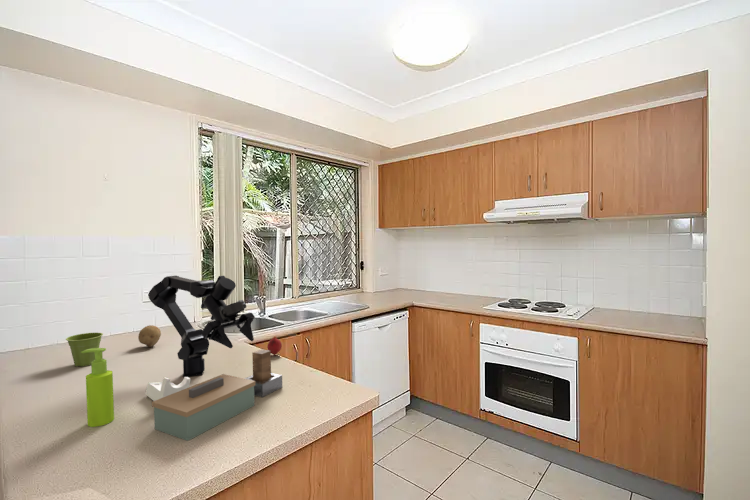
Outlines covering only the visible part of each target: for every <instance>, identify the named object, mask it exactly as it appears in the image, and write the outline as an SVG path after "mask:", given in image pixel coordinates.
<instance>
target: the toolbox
mask: <svg viewBox="0 0 750 500" xmlns="http://www.w3.org/2000/svg"><path fill="white" fill-rule="evenodd" d="M254 386H255V381H253V380H248V379H245V378H243V377H239V376H238V377H237V376H232V375H229V374H226V373H223V374H220V375H217V376H214V377H211V378H209V379H207V380H205V381H202V382H199V383H197V384H194V385H192V386H189V388H186V389H184V390H181V391H179V392H176V393H173V394H171V395H168V396H166V397H163V398H161V399H158V400H156V401H153V400H152V401H151V406H152V407H153V415H154V416H153V420H154V421H153V423H154V430H156V431H159V432H163V433H165V434H167V435H171V436H173V437H176V438H179V439H182V440H184V441H187V442H188V441H190V440H192V439H193V438H195V437H198V436H199V435H201V434H203V433H205V432H207V431H209V430H211V429H212V428H215V427H217V426H218V425H221V424H222V423H224V422H226V421H227V420H228V421H229V420H230V419H232V418H233V417H235V416H237V415H239V414H241V413H243V412H245V411H247V410H249V409H250V408H252V407H254V406H255V391H254Z"/></svg>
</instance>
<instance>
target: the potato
mask: <svg viewBox="0 0 750 500" xmlns="http://www.w3.org/2000/svg"><path fill="white" fill-rule="evenodd" d="M161 331H162V330H161V329H160V328H159V327H158V326H156V325H150V324H149V325H147V326H145V327H143V328H141V330H139V333H138V335H137V337H138V342H139V344H142V345H145V346H147V347H149V348H151V347H154V346H156V345H157V343H158V342H159V340H160V339H161V336H162V332H161Z"/></svg>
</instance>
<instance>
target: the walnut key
mask: <svg viewBox="0 0 750 500" xmlns="http://www.w3.org/2000/svg"><path fill="white" fill-rule="evenodd" d="M271 356H272V354H271V351H269V350H268V349H258V350H255V351H252V375H253V380H255V381H260V382H264V381H266V380H268V379H270V378H271V373H272V359H271V358H272V357H271Z"/></svg>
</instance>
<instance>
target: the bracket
mask: <svg viewBox="0 0 750 500" xmlns="http://www.w3.org/2000/svg"><path fill="white" fill-rule="evenodd" d="M190 384H191V378H190V377H189V376H187V377H183V378H182V381H181V382H180V383H178V384H176V383H174V382H172V381H171V379H170V378H168V377H163V378H162V381H161V382H160V381H159V382H156V381H155V382H148V383H147V386H146V390H145V393H144V394H145V395H146V396H147V397H148V398H149V399H151V400H152V402H153V401H156V400H158V399H161V398H163V397H166V396H168V395H171V394H173V393H176V392H179V391H181V390H184V389H186V388H189V387H190Z"/></svg>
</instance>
